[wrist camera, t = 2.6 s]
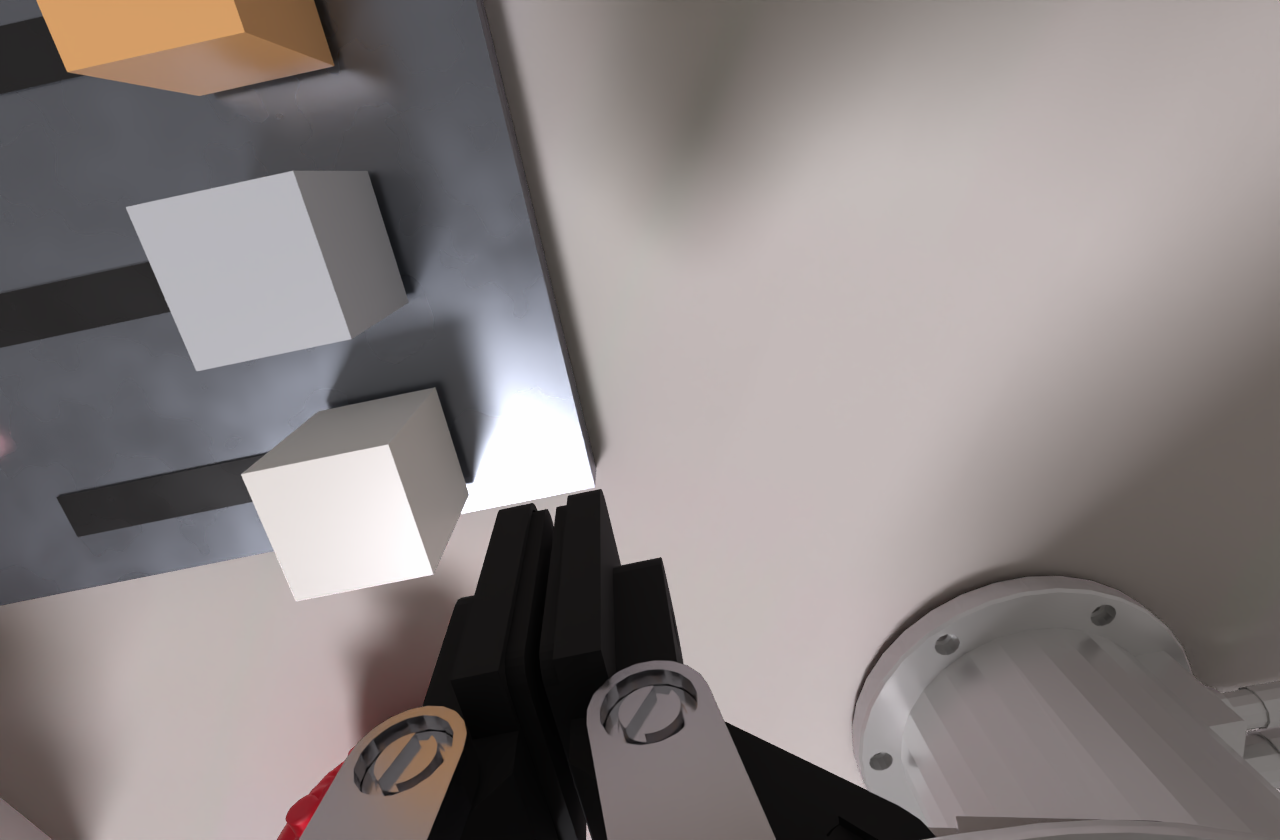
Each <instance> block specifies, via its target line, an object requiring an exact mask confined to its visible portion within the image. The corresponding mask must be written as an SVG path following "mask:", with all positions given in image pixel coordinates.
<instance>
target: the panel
mask: <svg viewBox="0 0 1280 840" xmlns="http://www.w3.org/2000/svg"><path fill="white" fill-rule="evenodd" d="M314 2H315V5H316V8H317V12H318V15H319V18H320V21H321V24H322V27H323V31H324V34H325V37H326V40H327V43H328V47H329V50H330V53H331V56H332V59H333V63H334V66H333V67H328V68H324V69H319V70H315V71H310V72H306V73H301V74H297V75H292V76H288V77H283V78H279V79H274V80H270V81H265V82H261V83H256V84H252V85H247V86H243V87H238V88H234V89H229V90H225V91H220V92H216V93H211V94H207V95H202V96H196V95H191V94H185V93H180V92H174V91H169V90H163V89H158V88H152V87H147V86H141V85H136V84H130V83H125V82H119V81H114V80H108V79H103V78H97V77H92V76H86V75H81V74H75V73H70V72H67V70H66V68H65V66H64V63H63V61H62V59H61V56H60V54H59V52H58V50H57V47H56V45H55V43H54V40H53V38H52V36H51V33H50V31H49V29H48V26H47V24H46V22H45V19H44V17H43V15H42V12H41V10H40V8H39V6H38V3H37V1H36V0H0V605H5V604H10V603H15V602H20V601H25V600H30V599H35V598H40V597H45V596H50V595H55V594H60V593H65V592H70V591H75V590H81V589H86V588H91V587H96V586H101V585H106V584H111V583H116V582H121V581H126V580H131V579H136V578H141V577H146V576H151V575H156V574H161V573H166V572H171V571H176V570H181V569H186V568H191V567H196V566H201V565H206V564H211V563H216V562H221V561H226V560H231V559H236V558H242V557H247V556H252V555H257V554H262V553H267V552H272V551H274V550H273V548H272V545H271V543H270V541H269V538H268V536H267V534H266V531H265V529H264V527H263V524H262V522H261V520H260V518H259V515H258V513H257V511H256V508H255V506H254V504H253V501H252V499H251V497H250V494H249V492H248V490H247V487H246V485H245V483H244V480H243V478H242V476H241V474H242V473H243V472H244V471H246V470H247V469H248V468H249V467H250V466H252V465H253V464H254V463H255V462H257V461H258V460H259V459H260V458H262V457H263V456H264V455H265V454H266V453H268V452H269V451H270V450H271V449H273V448H274V447H275V446H276V445H278V444H279V443H280V442H281V441H282V440H284V439H285V438H286V437H287V436H289V435H290V434H291V433H292V432H294V431H295V430H296V429H297V428H298V427H300V426H301V425H302V424H303V423H305V422H306V421H307V420H308V419H310V418H311V417H312V416H313V415H314V414H316V413H317V412H318V411H322V410H327V409H332V408H337V407H342V406H347V405H351V404H356V403H361V402H366V401H371V400H376V399H381V398H386V397H390V396H395V395H400V394H405V393H410V392H415V391H420V390H425V389H429V388H434V387H436V391H437V394H438V397H439V400H440V403H441V407H442V410H443V413H444V416H445V419H446V422H447V426H448V429H449V432H450V435H451V438H452V442H453V445H454V448H455V451H456V454H457V458H458V461H459V464H460V467H461V470H462V473H463V477H464V480H465V483H466V486H467V489H468V493H469V496H468V499H467V501H466V503H465V505H464V508H463V510H462V512H461V514H463V513H468V512H473V511H478V510H483V509H488V508H493V507H498V506H503V505H508V504H513V503H518V502H523V501H528V500H533V499H538V498H543V497H548V496H554V495H559V494H564V493H569V492H574V491H579V490H584V489H589V488H594V487H595V480H596V465H595V461H594V457H593V453H592V449H591V445H590V441H589V436H588V432H587V428H586V424H585V420H584V416H583V412H582V408H581V403H580V399H579V395H578V391H577V387H576V383H575V379H574V375H573V370H572V366H571V362H570V358H569V354H568V350H567V346H566V342H565V337H564V333H563V329H562V325H561V321H560V317H559V313H558V309H557V304H556V300H555V296H554V292H553V288H552V284H551V280H550V276H549V271H548V267H547V263H546V259H545V255H544V251H543V247H542V243H541V238H540V234H539V230H538V226H537V222H536V218H535V214H534V210H533V205H532V201H531V197H530V193H529V189H528V185H527V181H526V177H525V172H524V168H523V164H522V160H521V156H520V152H519V148H518V143H517V139H516V135H515V131H514V127H513V123H512V119H511V115H510V110H509V106H508V102H507V98H506V94H505V90H504V86H503V82H502V77H501V73H500V69H499V65H498V61H497V57H496V53H495V49H494V44H493V40H492V36H491V32H490V28H489V24H488V20H487V16H486V11H485V7H484V3H483V0H314ZM290 171H368V174H369V177H370V180H371V184H372V187H373V190H374V193H375V196H376V199H377V203H378V206H379V209H380V212H381V215H382V219H383V222H384V225H385V228H386V231H387V235H388V238H389V241H390V244H391V247H392V250H393V254H394V257H395V260H396V263H397V266H398V270H399V273H400V276H401V279H402V282H403V285H404V289H405V292H406V295H407V298H408V301H409V303H407V304H406V305H404V306H403V307H401V308H400V309H398V310H396V311H395V312H393V313H392V314H390V315H389V316H387V317H385V318H384V319H382V320H381V321H379V322H378V323H376V324H375V325H373V326H371V327H370V328H368V329H367V330H365V331H364V332H362V333H360V334H359V335H357V336H356V337H354V338H353V339H350V340H345V341H340V342H336V343H331V344H326V345H321V346H316V347H312V348H307V349H302V350H297V351H292V352H288V353H283V354H278V355H273V356H268V357H264V358H259V359H254V360H249V361H244V362H240V363H235V364H230V365H225V366H220V367H216V368H211V369H206V370H201V371H196V369H195V367H194V365H193V362H192V360H191V358H190V355H189V353H188V351H187V348H186V346H185V344H184V341H183V339H182V337H181V335H180V332H179V330H178V328H177V325H176V323H175V321H174V318H173V316H172V314H171V311H170V309H169V307H168V304H167V302H166V300H165V297H164V295H163V293H162V290H161V288H160V286H159V284H158V281H157V279H156V277H155V274H154V272H153V270H152V267H151V265H150V263H149V260H148V258H147V256H146V253H145V251H144V249H143V246H142V244H141V242H140V240H139V237H138V235H137V233H136V230H135V228H134V226H133V223H132V221H131V219H130V216H129V214H128V212H127V209H126V207H128V206H133V205H138V204H142V203H147V202H151V201H156V200H161V199H165V198H170V197H174V196H179V195H184V194H188V193H193V192H198V191H202V190H207V189H211V188H216V187H221V186H225V185H230V184H234V183H239V182H244V181H248V180H253V179H257V178H262V177H267V176H271V175H276V174H280V173H285V172H290Z"/></svg>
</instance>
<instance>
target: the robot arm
mask: <svg viewBox="0 0 1280 840" xmlns="http://www.w3.org/2000/svg"><path fill="white" fill-rule="evenodd" d="M1255 728H1259V729H1258V730H1253V731H1248V732H1247V734H1246V730H1249V729H1255ZM852 739H853V753H854V756H855V759H856V762H857V766H858V769H859V772H860V775H861V777H862V779H863V782H864V784H865V786H866V788H867V790H866V789H863V788H861V787H859V786H857V785H855V784H853V783H851V782H849V781H847V780H845V779H843V778H841V777H839V776H837V775H834V774H832V773H830V772H828V771H826V770H824V769H822V768H820V767H818V766H816V765H814V764H812V763H810V762H808V761H806V760H803V759H801V758H799V757H797V756H795V755H793V754H791V753H789V752H787V751H785V750H783V749H781V748H779V747H777V746H775V745H772V744H770V743H768V742H766V741H764V740H762V739H760V738H758V737H756V736H754V735H752V734H750V733H748V732H746V731H743V730H741V729H739V728H737V727H735V726H733V725H731V724H729V723H727V722H725V721H724V719H723V717H722V715H721V712H720V710H719V708H718V706H717V703H716V701H715V699H714V696H713V694H712V692H711V690H710V687H709V685H708V684H707V682H706V681H705V680H704V678H703V677H702V675H701V674H700V673H698V672H697V671H695V670H694V669H692V668H691V667H689V666H688V665H684V664H683V659H682V653H681V647H680V642H679V636H678V631H677V626H676V621H675V616H674V611H673V606H672V602H671V597H670V592H669V588H668V583H667V579H666V574H665V570H664V565H663V561H662V558H661V557H660V558H656V559H651V560H646V561H641V562H636V563H631V564H626V565H621V563H620V559H619V555H618V551H617V547H616V543H615V539H614V534H613V530H612V526H611V522H610V518H609V514H608V510H607V506H606V502H605V498H604V495H603V492H602V490H601V489H599V490H594V491H589V492H584V493H579V494H575V495H570V496H568V498H567V505H565V506H560V507H557V508H556V516H555V524H554V526H553V522H552V519H551V515H550V513H549V511H548V509H545V510H541V511H537V508H536V506H535V505H534V504H533V503H531V504H526V505H521V506H516V507H511V508H506V509H502V510H499V512H498V514H497V518H496V521H495V525H494V528H493V532H492V535H491V539H490V542H489V546H488V549H487V553H486V556H485V560H484V563H483V567H482V570H481V574H480V577H479V581H478V584H477V588H476V591H475V595H474V596H469V597H464V598H461V599H459V600H458V601H457V603H456V605H455V607H454V610H453V613H452V616H451V620H450V623H449V626H448V629H447V632H446V635H445V638H444V641H443V644H442V648H441V651H440V654H439V657H438V660H437V663H436V666H435V669H434V672H433V676H432V679H431V682H430V685H429V688H428V691H427V694H426V697H425V700H424V704H423V707H419V708H414V709H410V710H407V711H405V712H403V713H400V714H398V715H395V716H393V717H391V718H389V719H388V720H386V721H384V722H383V723H381V724H380V725H378V726H377V727H375V728H373V729H372V730H371V731H370V732H369V733H368V734H367V735H366V736H365V737H364V738H362V739H361V740H360V741H359V742H358V743H357V745H356V746H355V747H354V749H353V750H352V751H351V753H350V754H349V755H348V757H347V758H346V760H345V761H344V763H343V765H342V767H341V768H340V770H339V772H338V773H337V775H336V777H335V779H334V780H333V782H332V784H331V785H330V787H329V789H328V791H327V792H326V794H325V796H324V797H323V799H322V801H321V803H320V804H319V806H318V808H317V809H316V811H315V813H314V815H313V816H312V818H311V820H310V822H309V823H308V825H307V827H306V828H305V830H304V832H303V834H302V835H301V837H300V839H299V840H586V822H587V825H588V828H589V832H590V835H591V838H592V840H1280V792H1279V791H1278V790H1277V789H1279V790H1280V681H1274V682H1268V683H1263V684H1257V685H1252V686H1247V687H1241V688H1239V689H1238V690H1236V691H1231V692H1225V693H1221V692H1220V691H1218V690H1217V689H1214V688H1211V687H1208V686H1204V685H1203V684H1202V683H1201V682H1200V681H1199V680H1197V679H1196V678H1195V677H1194V676H1193V675H1192V670H1191V667H1190V664H1189V662H1188V659H1187V657H1186V654H1185V651H1184V649H1183V647H1182V645H1181V644H1180V643H1179V641H1178V640H1177V639H1176V637H1175V636H1174V635H1173V633H1172V632H1171V631H1170V629H1169V628H1168V627H1167V626H1166V625H1165V624H1164V623H1163V622H1161V621H1160V620H1159V619H1158V618H1157V617H1156V616H1154V615H1153V614H1152V613H1151V612H1150V611H1149V610H1147V609H1146V608H1145V607H1144V606H1143V605H1141V604H1140V603H1138V602H1137V601H1135V600H1134V599H1132V598H1130V597H1129V596H1127V595H1126V594H1124V593H1122V592H1121V591H1119V590H1117V589H1114V588H1111V587H1108V586H1105V585H1103V584H1100V583H1097V582H1094V581H1091V580H1085V579H1078V578H1072V577H1065V576H1034V577H1023V578H1018V579H1013V580H1007V581H1002V582H997V583H993V584H990V585H987V586H984V587H981V588H979V589H976V590H973V591H970V592H967V593H964V594H962V595H960V596H958V597H956V598H954V599H952V600H950V601H949V602H947V603H945V604H943V605H941V606H939V607H937V608H935V609H934V610H932V611H930V612H929V613H928V614H926V615H925V616H924V617H922V618H921V619H920V620H918V621H917V622H916V623H914V624H913V625H912V626H910V627H909V628H908V629H906V630H905V631H904V632H903V633H902V634H901V635H900V636H899V637H898V638H897V639H896V641H895V642H894V643H893V644H892V645H891V646H890V647H889V648H888V649H887V650H886V651H885V652H884V653H883V654H882V656H881V657H880V659H879V660H878V662H877V663H876V665H875V666H874V668H873V670H872V671H871V673H870V674H869V676H868V677H867V679H866V681H865V684H864V686H863V689H862V691H861V693H860V696H859V698H858V701H857V703H856V708H855V714H854V720H853V725H852ZM1276 788H1277V789H1276Z"/></svg>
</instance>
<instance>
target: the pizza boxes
mask: <svg viewBox="0 0 1280 840" xmlns="http://www.w3.org/2000/svg"><path fill="white" fill-rule="evenodd" d="M0 840H52V839H51V838H50V837H49V836H47V835H46V834H45V833H44V832H43V831H41V830H40V829H39V828H38V827H36V826H35V825H34V824H33V823H31V822H30V821H29V820H28V819H26V818H25V817H24V816H23V815H22V814H20V813H19V812H18V811H17V810H15V809H14V808H13V807H12V806H10V805H9V804H8V803H7V802H5V801H4V800H3V799H2V798H1V797H0Z"/></svg>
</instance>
